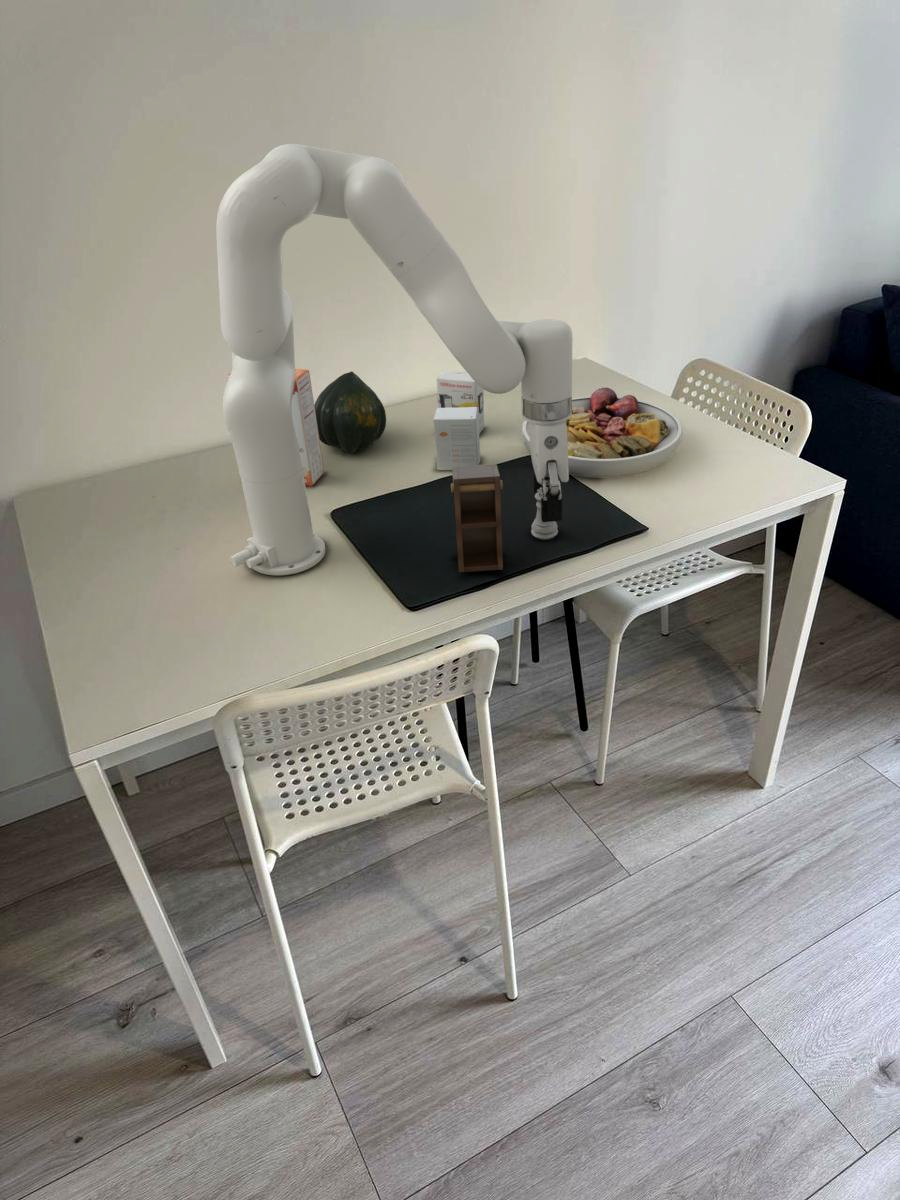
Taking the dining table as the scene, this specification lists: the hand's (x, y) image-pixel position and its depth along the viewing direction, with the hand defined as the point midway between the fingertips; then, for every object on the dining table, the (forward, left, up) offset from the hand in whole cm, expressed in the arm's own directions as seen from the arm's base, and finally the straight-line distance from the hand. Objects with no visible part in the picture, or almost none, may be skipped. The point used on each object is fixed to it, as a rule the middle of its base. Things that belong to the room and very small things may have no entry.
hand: (547, 505), depth 140 cm
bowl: (+32, +11, -5) cm, 34 cm away
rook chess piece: (0, 0, -5) cm, 5 cm away
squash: (+5, +53, -5) cm, 54 cm away
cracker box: (-13, +52, -5) cm, 54 cm away
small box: (+11, +29, -5) cm, 32 cm away
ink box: (+23, +39, -5) cm, 46 cm away
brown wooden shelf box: (-12, +5, +2) cm, 13 cm away
